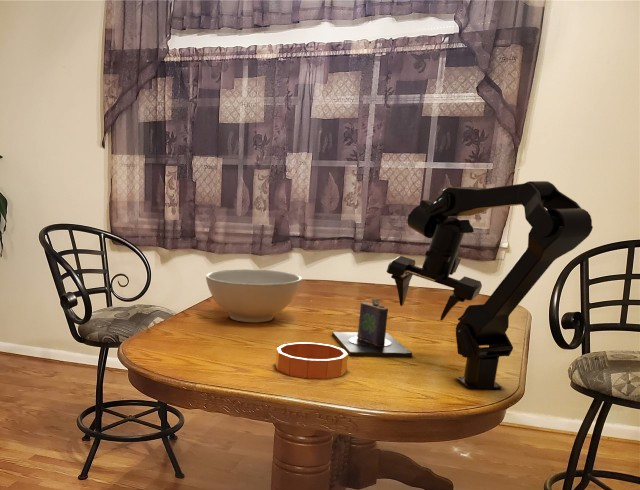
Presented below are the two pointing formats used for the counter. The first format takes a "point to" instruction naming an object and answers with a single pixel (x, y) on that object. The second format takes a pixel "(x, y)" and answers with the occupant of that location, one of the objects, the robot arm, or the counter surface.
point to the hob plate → (370, 346)
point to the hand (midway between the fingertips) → (421, 312)
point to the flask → (372, 322)
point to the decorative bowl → (252, 292)
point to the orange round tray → (311, 360)
